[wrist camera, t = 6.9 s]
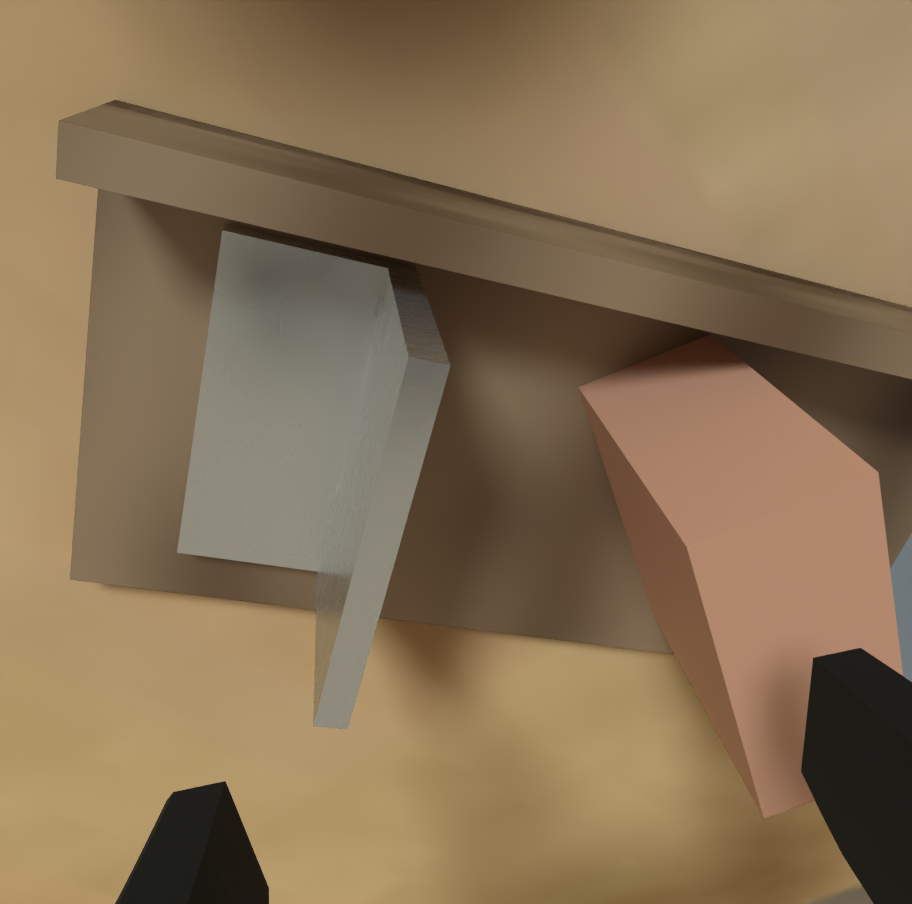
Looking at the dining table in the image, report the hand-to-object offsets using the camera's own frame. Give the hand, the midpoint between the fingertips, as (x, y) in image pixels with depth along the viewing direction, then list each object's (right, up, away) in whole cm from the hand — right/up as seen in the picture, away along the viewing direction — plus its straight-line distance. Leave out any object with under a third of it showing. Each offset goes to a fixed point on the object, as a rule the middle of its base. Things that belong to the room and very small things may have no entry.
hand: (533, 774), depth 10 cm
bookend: (-4, +5, +7) cm, 9 cm away
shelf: (+3, +4, +9) cm, 11 cm away
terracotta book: (+4, +3, +9) cm, 10 cm away
